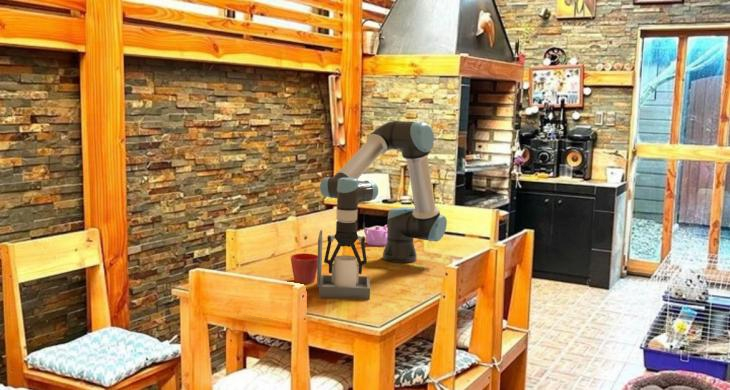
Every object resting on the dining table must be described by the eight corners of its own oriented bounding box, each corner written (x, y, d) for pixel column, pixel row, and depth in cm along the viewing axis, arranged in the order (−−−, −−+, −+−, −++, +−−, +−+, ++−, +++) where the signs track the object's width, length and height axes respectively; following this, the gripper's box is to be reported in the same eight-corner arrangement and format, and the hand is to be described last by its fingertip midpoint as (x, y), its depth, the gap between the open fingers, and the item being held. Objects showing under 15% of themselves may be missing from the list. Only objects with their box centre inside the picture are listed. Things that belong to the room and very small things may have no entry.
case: (368, 285, 267) (370, 231, 264) (369, 299, 248) (371, 240, 245) (317, 284, 266) (319, 229, 263) (315, 297, 248) (316, 239, 245)
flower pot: (307, 286, 263) (308, 260, 261) (284, 281, 268) (285, 256, 267) (324, 280, 272) (324, 256, 270) (301, 276, 277) (301, 252, 276)
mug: (336, 279, 262) (336, 252, 261) (358, 280, 262) (359, 253, 260) (332, 288, 250) (332, 260, 249) (355, 289, 250) (356, 261, 248)
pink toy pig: (386, 241, 352) (387, 224, 351) (391, 247, 338) (392, 229, 337) (362, 241, 350) (363, 223, 349) (366, 247, 337) (367, 229, 335)
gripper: (375, 219, 257) (373, 280, 260) (318, 218, 256) (316, 278, 259) (376, 223, 249) (374, 285, 252) (317, 221, 249) (315, 284, 252)
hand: (344, 282), depth 256 cm, fingers closed on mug, 8 cm apart
